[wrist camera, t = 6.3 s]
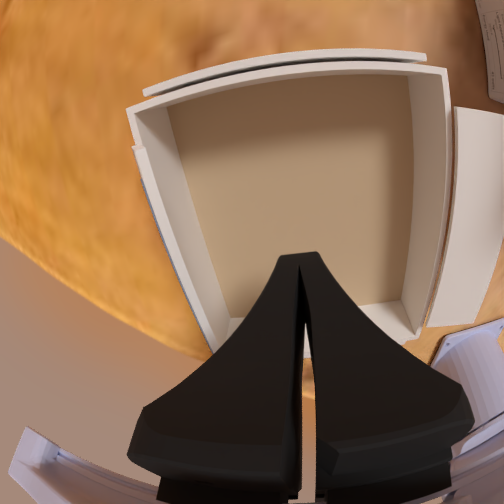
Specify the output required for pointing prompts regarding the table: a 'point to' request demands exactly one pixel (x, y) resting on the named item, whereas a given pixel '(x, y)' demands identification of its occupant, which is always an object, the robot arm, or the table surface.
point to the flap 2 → (472, 218)
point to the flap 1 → (171, 243)
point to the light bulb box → (493, 44)
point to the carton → (306, 177)
